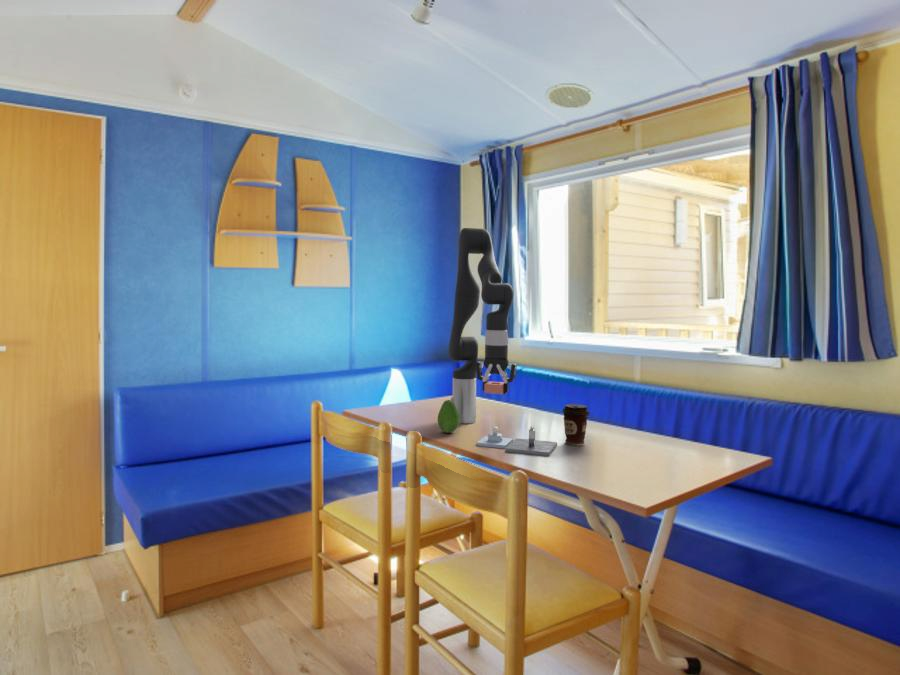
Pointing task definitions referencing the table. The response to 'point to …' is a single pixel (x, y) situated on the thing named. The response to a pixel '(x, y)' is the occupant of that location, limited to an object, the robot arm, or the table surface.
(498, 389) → the salmon square frame
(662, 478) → the table surface
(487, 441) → the stand
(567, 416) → the coffee cup
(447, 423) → the avocado
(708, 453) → the table surface
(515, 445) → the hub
